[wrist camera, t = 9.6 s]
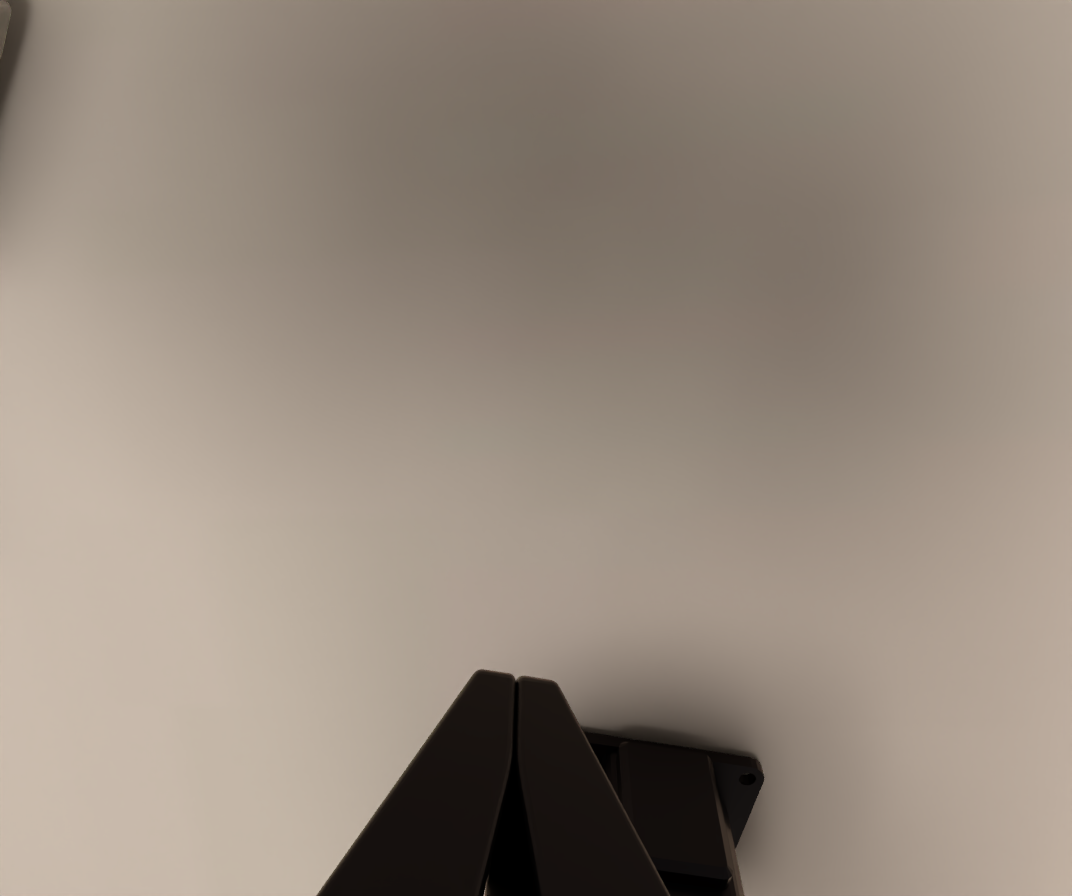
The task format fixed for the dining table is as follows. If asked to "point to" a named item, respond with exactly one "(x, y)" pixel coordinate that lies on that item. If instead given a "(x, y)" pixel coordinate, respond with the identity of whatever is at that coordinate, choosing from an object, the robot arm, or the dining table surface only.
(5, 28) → the skincare box
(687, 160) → the dining table surface
